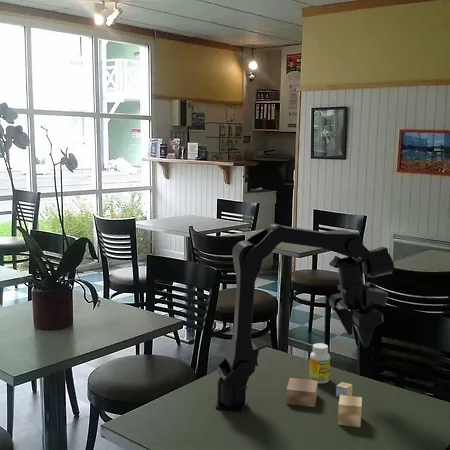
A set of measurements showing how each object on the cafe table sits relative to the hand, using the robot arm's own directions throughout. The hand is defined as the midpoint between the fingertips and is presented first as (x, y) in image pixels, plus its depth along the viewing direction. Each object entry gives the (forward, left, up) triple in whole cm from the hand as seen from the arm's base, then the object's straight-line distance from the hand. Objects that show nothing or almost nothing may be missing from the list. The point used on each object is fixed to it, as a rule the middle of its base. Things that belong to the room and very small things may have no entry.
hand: (358, 340), depth 145 cm
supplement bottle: (-10, +6, -14) cm, 18 cm away
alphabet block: (-3, -2, -14) cm, 15 cm away
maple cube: (-1, -15, -14) cm, 21 cm away
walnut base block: (-13, -7, -14) cm, 20 cm away
